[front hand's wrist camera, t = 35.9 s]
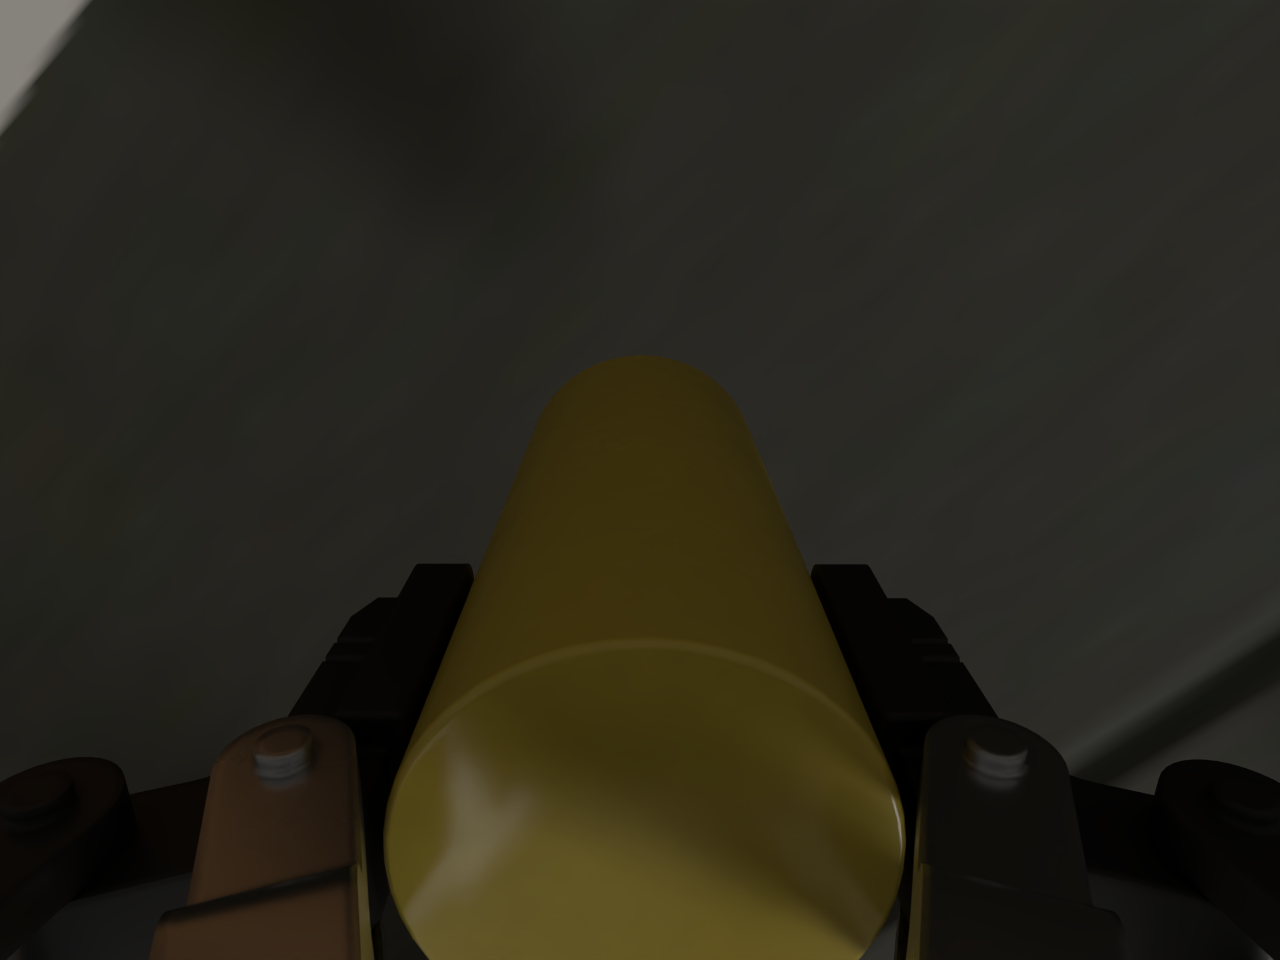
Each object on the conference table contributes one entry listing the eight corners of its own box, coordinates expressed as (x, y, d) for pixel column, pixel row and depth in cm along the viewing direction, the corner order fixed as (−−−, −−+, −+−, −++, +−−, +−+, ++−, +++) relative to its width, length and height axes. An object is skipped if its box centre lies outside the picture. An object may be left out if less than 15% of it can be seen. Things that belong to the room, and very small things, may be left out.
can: (782, 522, 18) (965, 976, 8) (581, 592, 19) (514, 1099, 9) (709, 319, 17) (818, 562, 7) (493, 403, 17) (280, 746, 7)
